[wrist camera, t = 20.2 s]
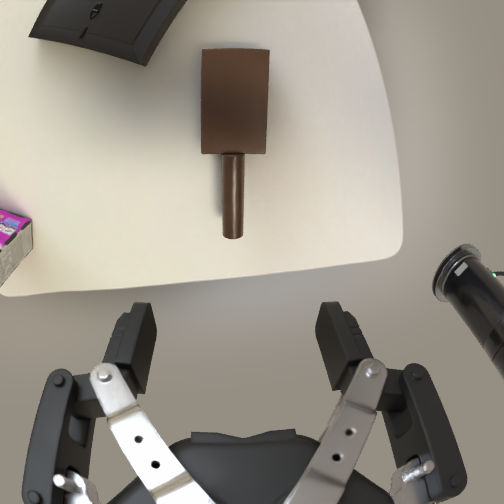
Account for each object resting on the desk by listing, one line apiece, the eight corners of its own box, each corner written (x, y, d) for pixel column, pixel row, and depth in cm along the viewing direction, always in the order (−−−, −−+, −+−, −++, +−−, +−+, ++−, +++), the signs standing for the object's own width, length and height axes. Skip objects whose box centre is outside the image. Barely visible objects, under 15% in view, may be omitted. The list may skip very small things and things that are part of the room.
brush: (205, 54, 21) (200, 47, 17) (265, 55, 21) (271, 47, 18) (206, 221, 30) (203, 239, 26) (258, 221, 30) (262, 239, 27)
